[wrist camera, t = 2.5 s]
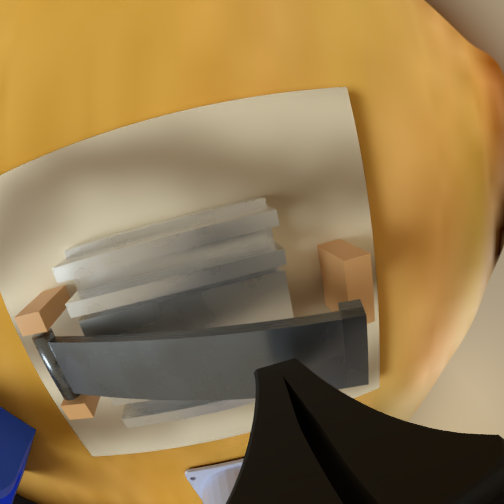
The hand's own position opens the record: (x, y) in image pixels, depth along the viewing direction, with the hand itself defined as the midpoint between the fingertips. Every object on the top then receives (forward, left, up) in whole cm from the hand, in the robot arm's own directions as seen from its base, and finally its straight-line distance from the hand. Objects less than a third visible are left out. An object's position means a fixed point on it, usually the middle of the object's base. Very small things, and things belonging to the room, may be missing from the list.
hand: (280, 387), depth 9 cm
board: (0, +3, -9) cm, 10 cm away
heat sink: (0, +3, -8) cm, 8 cm away
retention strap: (0, +3, -4) cm, 5 cm away
